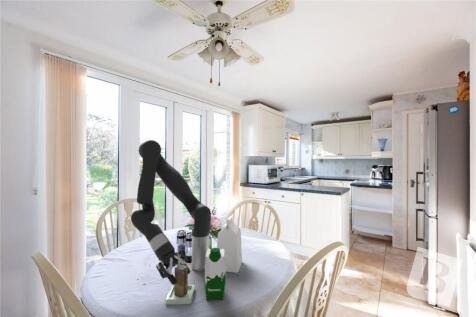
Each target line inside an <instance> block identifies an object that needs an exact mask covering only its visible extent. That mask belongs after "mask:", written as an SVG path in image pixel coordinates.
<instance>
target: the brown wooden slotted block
mask: <svg viewBox="0 0 476 317" xmlns="http://www.w3.org/2000/svg"><path fill="white" fill-rule="evenodd" d="M181 264H182V263H181ZM181 264H180V265H179V266H177V265H176V266H175V267H174V277H175V278H176V280H177V283H176V284H175V290H174V295H175V296H177V297H180V298H183V297H184V295H186V294H187V293H188V285H189V283H188V282H189V279H188V278H189V274H188V268H189V266H188V265H187V266H185V265H181Z"/></svg>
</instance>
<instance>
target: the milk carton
mask: <svg viewBox="0 0 476 317" xmlns="http://www.w3.org/2000/svg"><path fill="white" fill-rule="evenodd" d="M225 260H226V256H225V249H219V248H217V247H212V248H210V249H208V250H207V252H206V257H205V270H204V292H205V300H206V301H214V300H215V301H219V300H220V301H223V300H224V294H225V289H226V279H227V278H226V277H227V276H226V273H227V272H226V261H225Z"/></svg>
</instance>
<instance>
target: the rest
mask: <svg viewBox="0 0 476 317" xmlns="http://www.w3.org/2000/svg"><path fill="white" fill-rule="evenodd" d="M174 290H175V285H173V284H171V287H170V289H169V291H168V293H167V296H166V298H165V305H191V304H192V302H193V297H194V294H195V290H196V284H188V293H187V294H186V295H184V297H183V298H180V297H177V296H175V295H174Z"/></svg>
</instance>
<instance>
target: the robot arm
mask: <svg viewBox="0 0 476 317" xmlns="http://www.w3.org/2000/svg"><path fill="white" fill-rule="evenodd" d="M161 153H162V146H161V144H160V143H159V142H158V141H157V140H154V139H149V140H146V141H144V142H142V143H141V144H140V145H139V147H138V154H139V156H140V157H141V159H142V166H141V168H142V169H141V174H140V178H139V181H138V187H137V195H136V203H137V204H139V205H141V206H142V207H141V208H142V209H138V210H137V209H136V210H135V211H133V212H132V213H131V215H130V217H131V218H130V220H131V223H132V225H133V227H134V228H136V230H137V231H139V232H140V233H141V234H142V235H143V236H144V237H145V238H146V241H147V242H148V243H149V246H150V248H151V249H152V251H153V253H154V255H155V256H156V258H157V259H158V261H159V262H158V263H157V264H156V265H155V268H156V269H157V271H158V273H159V275H160V277H161V279H166V278H167V280H168V281H169V282H170V284H171V285H175V284H176V283H177V280H176V278H175V274H173V272H172V271H173V268H175V267H177V266H179V265H180V264H181V265H185V266H188V262H189V259H188V258H187V256H186V255H185V254H184V252H183V251H182V249H181V250H179V251H178V252H176V251H175V250H176V249H175V247H174V246H173V244H172V242H171V240H170V239H169V238H168V237H167V235H166V234H165V233H164V231H163V230H162V228H161V227H160V225H159V224H157V223H153V221H154V219H155V216H156V213H155V212H156V211H155V204H154V192H155V184H156V182H155V181H156V175H157V176H158V177H159V179H160V180H161V181H162V182H163V183H164V185H165V186H166V188H167V189H168V190H169V191H170V192H171V193H172V195H173V196H174V197H175V198H176V199H177V200H178V201H179V202H180V203H182V205H183V206H184V207H185V209H186V210H187V212H188V214H189V215H190V217H191V219H192V220H194V221H193V228H192V229H191V269H192V270H194V271H197V272H198V271H201V272H202V271H205V257H206V252H207V250H208V249H211V248H210V230H211V226H212V212H211V209H210V207H208V206H207V205H205V204H203V203H202V202H201V201H200V200H199V199H198V198H197V197H196V196H195V195H194V193H193V191H192V189H191V187H190V185H189V183H188V182H187V180H186V179H185V178H184V176H183V175H182V174H181V172H179V171H178V170H177V169H176V168H174V167H173V166H172V165H171V164H170V163H169V162H168V161H167V160H166V159H165V158H164V156H163V155H162V154H161ZM191 269H190V267H188V275H189V274H190V273H191Z"/></svg>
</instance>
